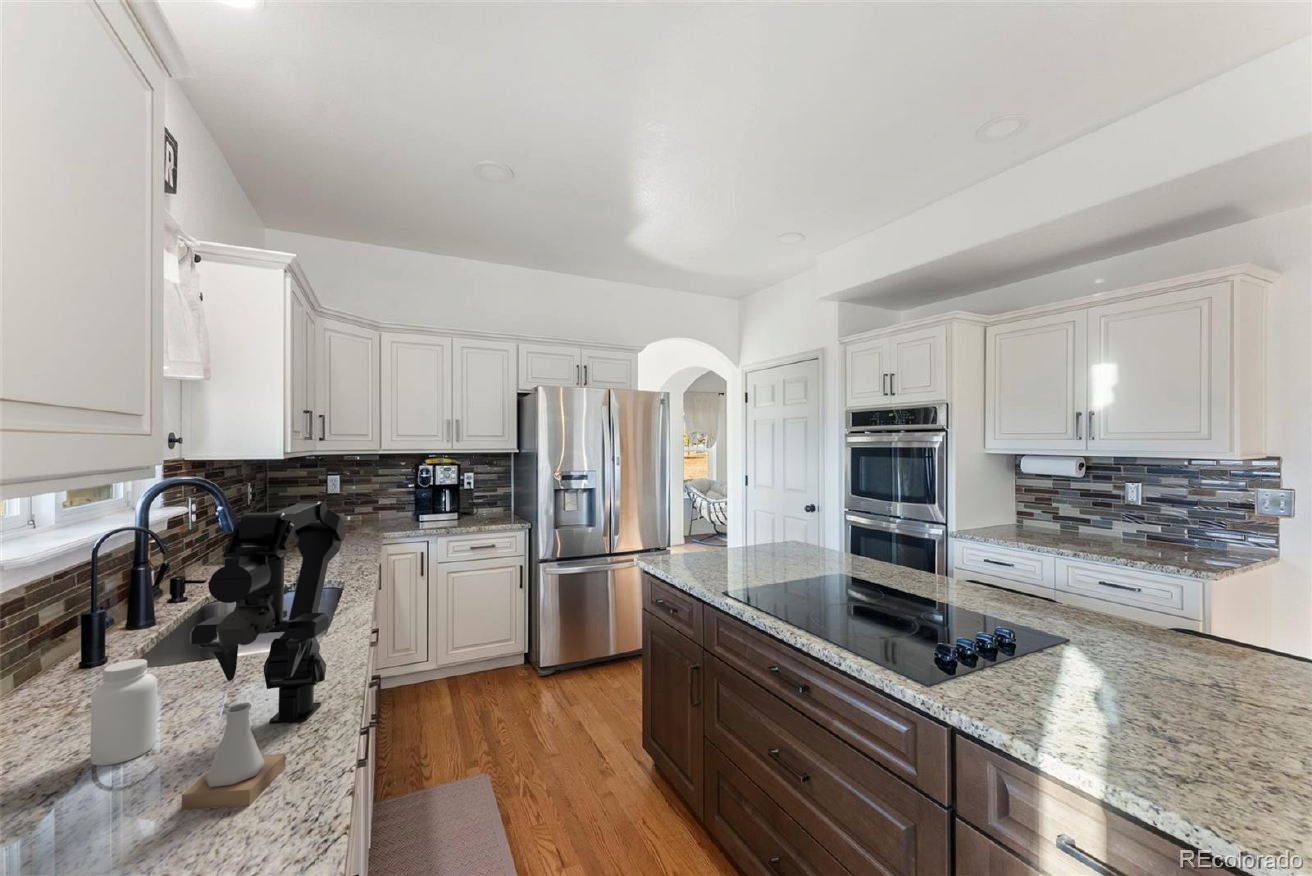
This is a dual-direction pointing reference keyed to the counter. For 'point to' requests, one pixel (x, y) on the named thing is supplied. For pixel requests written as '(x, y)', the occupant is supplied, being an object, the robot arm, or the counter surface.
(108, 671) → the pill bottle
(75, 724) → the counter surface
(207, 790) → the square wooden block
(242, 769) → the flask
